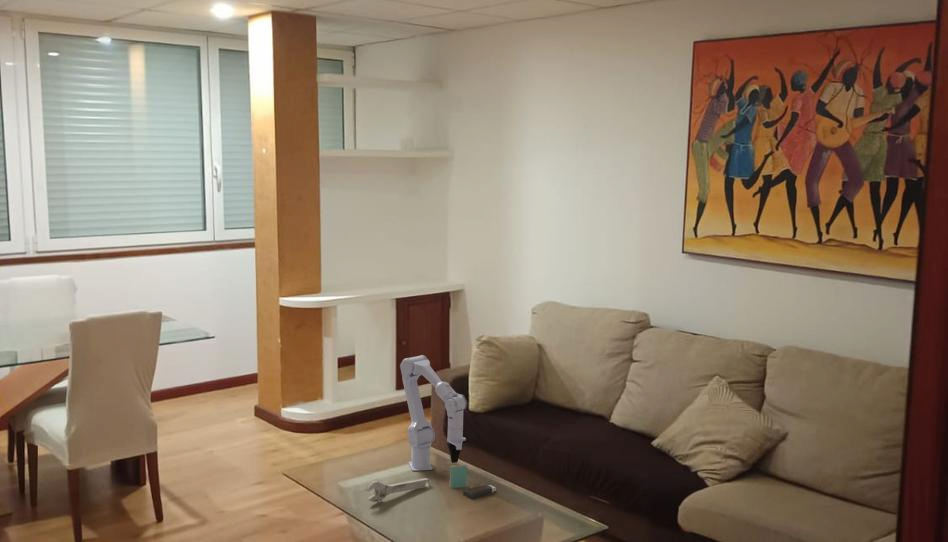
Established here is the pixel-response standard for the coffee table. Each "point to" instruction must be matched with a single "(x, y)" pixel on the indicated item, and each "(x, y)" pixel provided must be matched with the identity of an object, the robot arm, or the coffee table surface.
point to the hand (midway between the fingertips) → (454, 462)
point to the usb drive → (479, 491)
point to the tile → (458, 476)
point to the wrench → (394, 488)
